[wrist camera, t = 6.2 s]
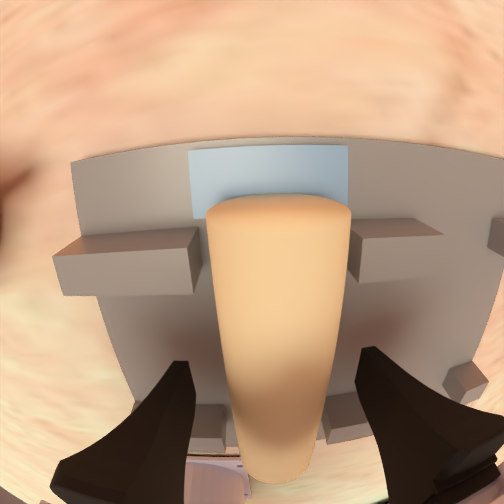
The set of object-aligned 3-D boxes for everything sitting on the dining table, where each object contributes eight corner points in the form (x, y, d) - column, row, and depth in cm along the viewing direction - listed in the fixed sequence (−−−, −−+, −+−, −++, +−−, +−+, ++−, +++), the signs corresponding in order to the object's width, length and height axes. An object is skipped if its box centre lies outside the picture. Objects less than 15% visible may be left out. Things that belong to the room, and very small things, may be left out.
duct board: (444, 397, 17) (461, 425, 14) (158, 432, 17) (150, 470, 14) (506, 160, 11) (548, 170, 8) (82, 160, 11) (36, 169, 8)
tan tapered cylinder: (308, 426, 15) (313, 481, 12) (243, 428, 16) (238, 483, 12) (333, 192, 10) (371, 233, 6) (217, 195, 10) (190, 237, 6)
